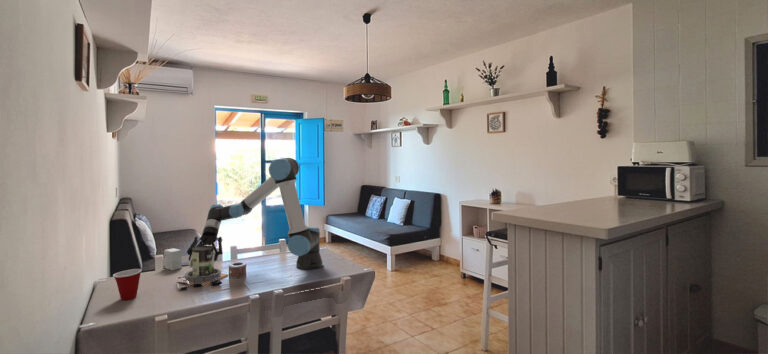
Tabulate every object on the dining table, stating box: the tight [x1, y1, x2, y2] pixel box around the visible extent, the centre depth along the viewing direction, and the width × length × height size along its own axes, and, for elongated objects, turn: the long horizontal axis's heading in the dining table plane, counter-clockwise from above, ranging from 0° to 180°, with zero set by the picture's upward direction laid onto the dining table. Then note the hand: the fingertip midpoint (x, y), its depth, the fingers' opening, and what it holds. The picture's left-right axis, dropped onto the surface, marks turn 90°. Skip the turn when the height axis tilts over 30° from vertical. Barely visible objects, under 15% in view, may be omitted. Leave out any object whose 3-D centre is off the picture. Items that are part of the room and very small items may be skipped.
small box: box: [163, 248, 183, 271], centre depth 216 cm, size 8×6×10 cm
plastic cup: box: [112, 268, 143, 301], centre depth 171 cm, size 11×11×12 cm
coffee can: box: [191, 245, 215, 277], centre depth 197 cm, size 10×10×14 cm
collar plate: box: [176, 267, 229, 287], centre depth 198 cm, size 17×17×4 cm
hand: (201, 266), depth 195 cm, fingers closed on coffee can, 10 cm apart
